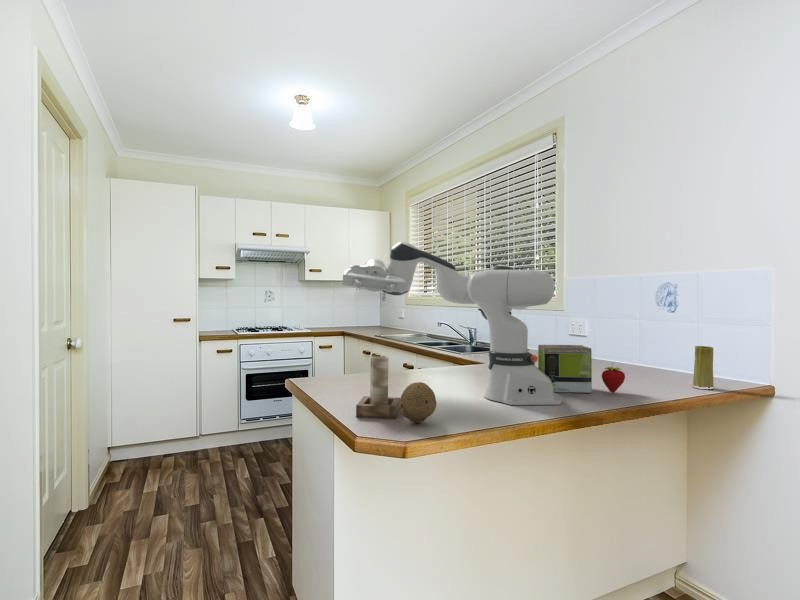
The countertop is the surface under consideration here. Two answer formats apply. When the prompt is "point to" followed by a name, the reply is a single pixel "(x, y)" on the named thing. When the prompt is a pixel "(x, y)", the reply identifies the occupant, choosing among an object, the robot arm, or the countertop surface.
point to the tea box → (567, 367)
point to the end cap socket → (377, 408)
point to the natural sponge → (417, 402)
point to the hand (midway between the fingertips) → (374, 287)
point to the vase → (703, 367)
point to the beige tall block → (379, 380)
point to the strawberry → (613, 378)
